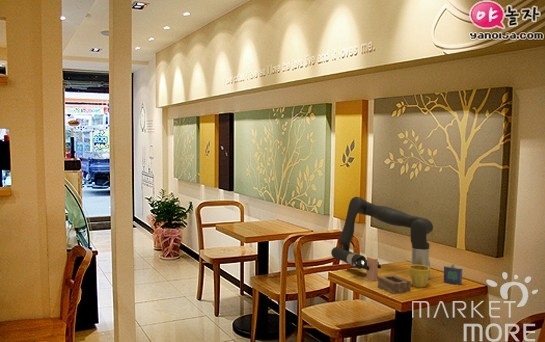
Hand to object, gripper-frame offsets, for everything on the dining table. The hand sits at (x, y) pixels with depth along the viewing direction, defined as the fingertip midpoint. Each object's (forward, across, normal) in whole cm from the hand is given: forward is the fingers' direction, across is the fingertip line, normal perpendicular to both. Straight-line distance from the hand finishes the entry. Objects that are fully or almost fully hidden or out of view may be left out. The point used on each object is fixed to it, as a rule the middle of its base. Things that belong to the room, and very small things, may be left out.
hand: (374, 267), depth 258 cm
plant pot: (+17, +16, +7) cm, 24 cm away
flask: (+22, +35, +7) cm, 42 cm away
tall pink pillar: (-2, 0, +7) cm, 7 cm away
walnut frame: (+16, 0, +7) cm, 17 cm away
